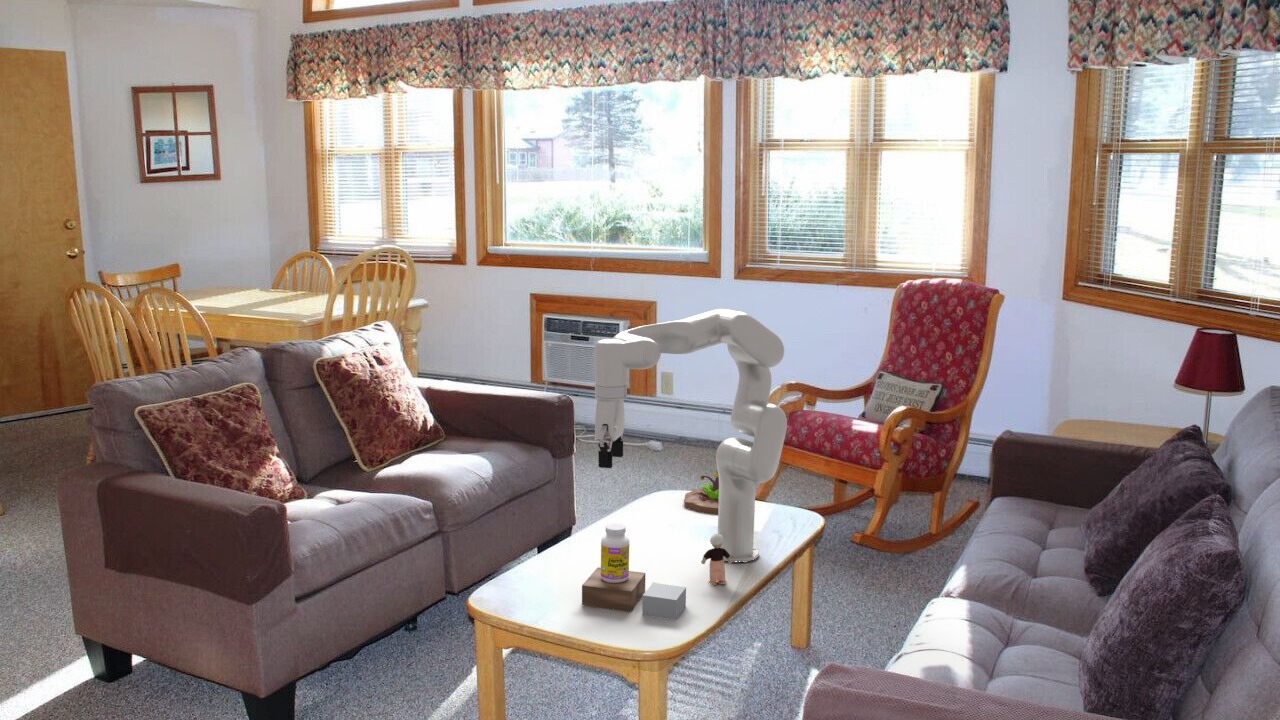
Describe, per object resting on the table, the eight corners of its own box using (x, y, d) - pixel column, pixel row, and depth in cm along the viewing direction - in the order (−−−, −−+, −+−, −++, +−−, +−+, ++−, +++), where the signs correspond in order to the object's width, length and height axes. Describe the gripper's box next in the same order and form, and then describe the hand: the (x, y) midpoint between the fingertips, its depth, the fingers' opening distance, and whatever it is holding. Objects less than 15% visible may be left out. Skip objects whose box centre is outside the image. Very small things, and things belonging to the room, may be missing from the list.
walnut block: (597, 586, 258) (597, 567, 257) (645, 592, 255) (645, 572, 254) (581, 605, 247) (581, 585, 246) (631, 612, 244) (631, 591, 243)
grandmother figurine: (726, 578, 265) (727, 530, 262) (733, 584, 261) (734, 534, 259) (698, 582, 262) (699, 533, 260) (704, 588, 258) (705, 538, 256)
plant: (676, 511, 318) (677, 475, 316) (691, 493, 337) (691, 458, 335) (742, 518, 313) (743, 481, 311) (753, 499, 332) (754, 464, 330)
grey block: (652, 602, 250) (653, 582, 249) (685, 607, 247) (686, 587, 246) (642, 615, 242) (642, 595, 241) (675, 620, 240) (676, 600, 239)
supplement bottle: (604, 585, 246) (604, 532, 244) (597, 574, 252) (598, 523, 250) (632, 582, 248) (632, 530, 246) (624, 572, 254) (625, 521, 252)
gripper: (605, 383, 259) (605, 451, 262) (584, 398, 242) (585, 470, 245) (635, 385, 257) (635, 453, 260) (616, 400, 241) (616, 473, 244)
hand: (611, 461), depth 253 cm, fingers open, 9 cm apart
